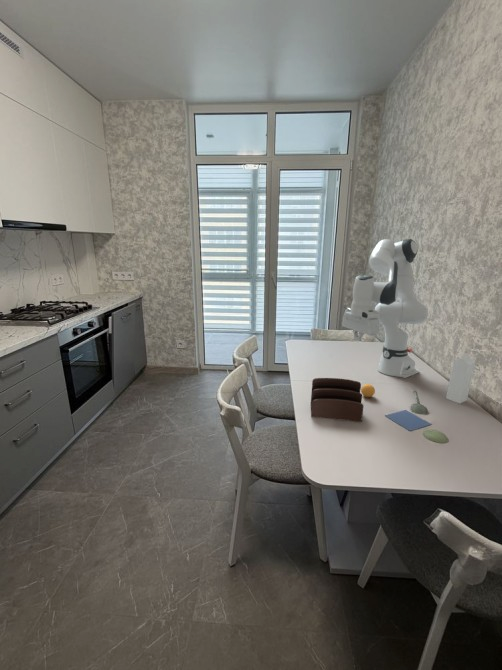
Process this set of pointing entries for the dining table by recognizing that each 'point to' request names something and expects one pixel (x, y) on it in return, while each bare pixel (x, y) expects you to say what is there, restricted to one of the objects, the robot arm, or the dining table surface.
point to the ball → (368, 390)
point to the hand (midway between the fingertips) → (357, 340)
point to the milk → (460, 379)
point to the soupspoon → (418, 407)
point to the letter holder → (336, 399)
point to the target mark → (408, 420)
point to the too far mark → (435, 436)
